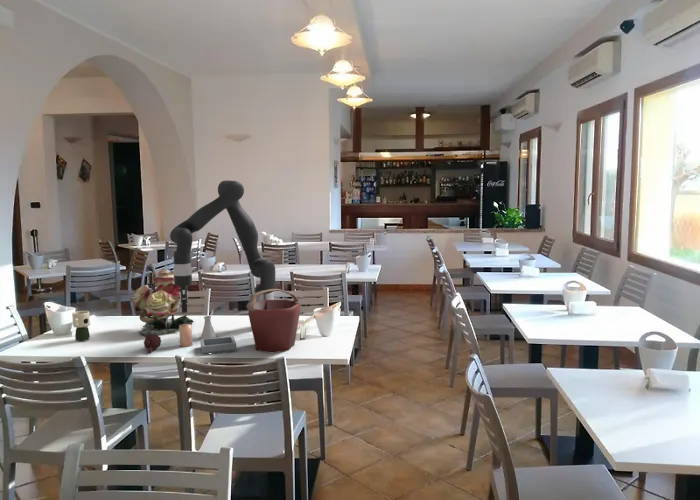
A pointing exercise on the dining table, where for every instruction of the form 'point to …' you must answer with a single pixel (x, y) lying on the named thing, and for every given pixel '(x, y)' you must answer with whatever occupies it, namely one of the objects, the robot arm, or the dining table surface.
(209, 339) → the slate tray
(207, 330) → the flask
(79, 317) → the character mug
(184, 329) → the terracotta cup
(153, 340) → the icecream
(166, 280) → the rose bouquet
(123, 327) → the dining table surface
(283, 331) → the bucket
